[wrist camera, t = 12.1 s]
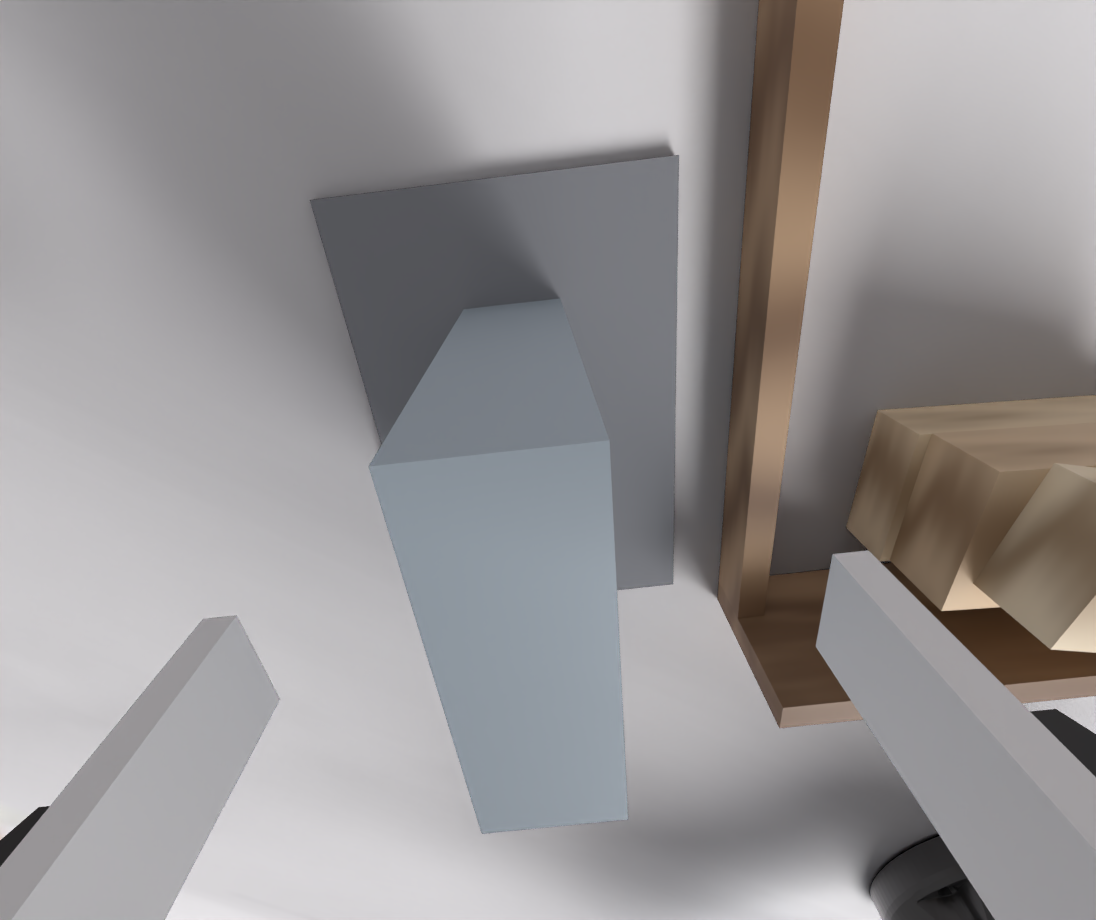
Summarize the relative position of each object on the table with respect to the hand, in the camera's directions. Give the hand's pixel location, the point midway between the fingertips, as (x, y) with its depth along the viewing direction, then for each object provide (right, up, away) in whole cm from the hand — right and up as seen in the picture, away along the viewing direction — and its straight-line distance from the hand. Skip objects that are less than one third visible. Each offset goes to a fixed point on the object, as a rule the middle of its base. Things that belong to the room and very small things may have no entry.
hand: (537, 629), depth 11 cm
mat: (-1, +5, +9) cm, 11 cm away
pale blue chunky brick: (-1, +5, +9) cm, 10 cm away
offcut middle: (+19, +3, +9) cm, 21 cm away
